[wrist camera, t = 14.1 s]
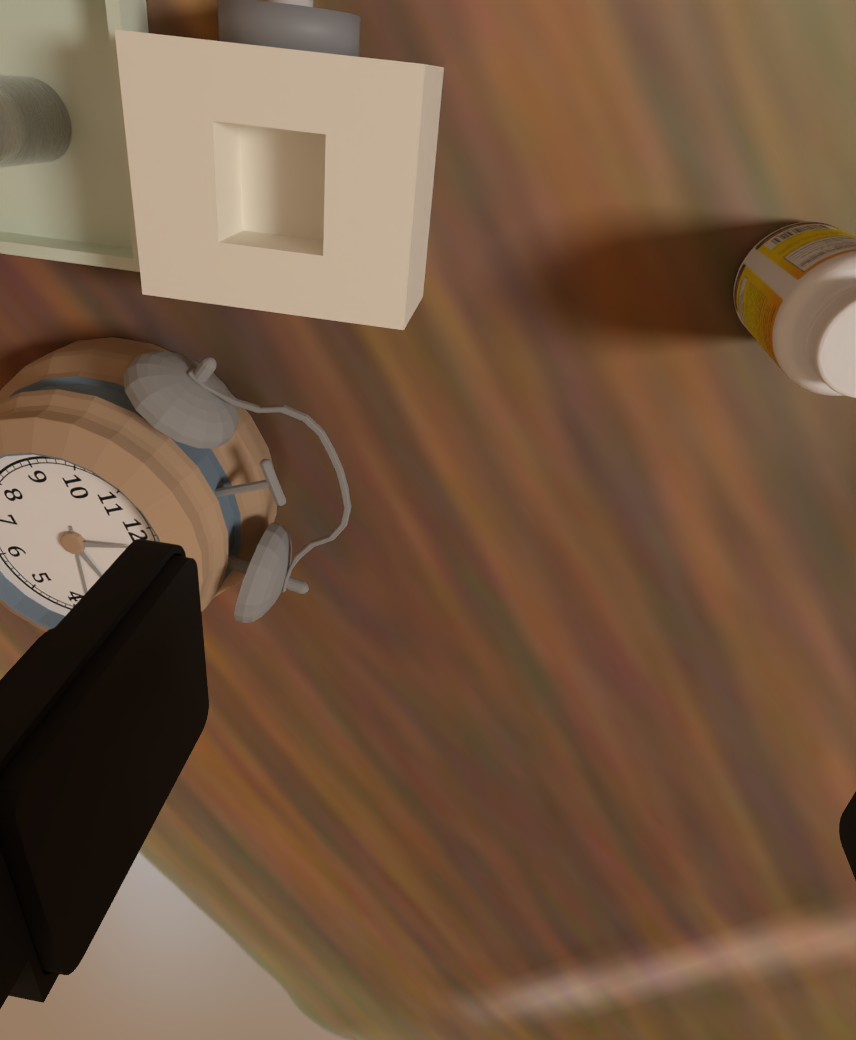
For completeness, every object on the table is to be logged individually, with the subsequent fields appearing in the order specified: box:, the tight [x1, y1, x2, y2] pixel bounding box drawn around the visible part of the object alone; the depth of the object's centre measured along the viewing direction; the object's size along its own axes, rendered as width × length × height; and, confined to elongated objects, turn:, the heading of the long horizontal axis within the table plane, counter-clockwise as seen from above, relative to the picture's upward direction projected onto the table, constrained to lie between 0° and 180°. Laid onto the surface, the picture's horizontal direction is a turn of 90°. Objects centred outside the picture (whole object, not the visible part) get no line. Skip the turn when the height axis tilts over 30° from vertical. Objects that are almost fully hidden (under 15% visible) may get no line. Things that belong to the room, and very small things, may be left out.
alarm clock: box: [0, 337, 351, 632], centre depth 41 cm, size 17×9×23 cm
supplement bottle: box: [733, 222, 856, 398], centre depth 30 cm, size 6×6×10 cm
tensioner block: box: [114, 0, 444, 330], centre depth 32 cm, size 12×12×6 cm
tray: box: [0, 0, 149, 272], centre depth 35 cm, size 12×12×2 cm
